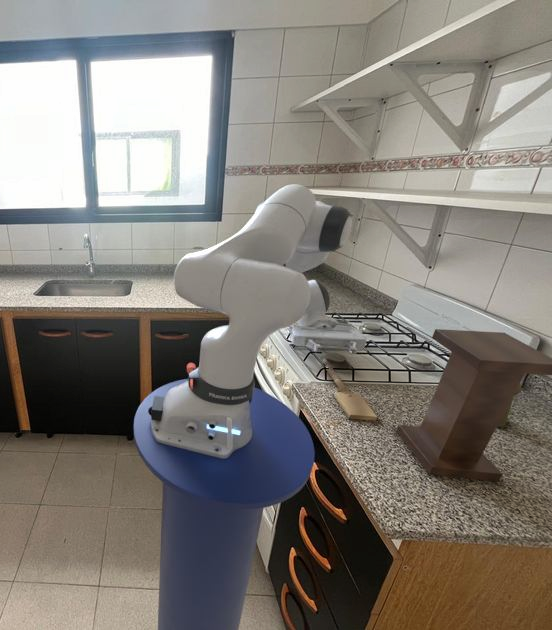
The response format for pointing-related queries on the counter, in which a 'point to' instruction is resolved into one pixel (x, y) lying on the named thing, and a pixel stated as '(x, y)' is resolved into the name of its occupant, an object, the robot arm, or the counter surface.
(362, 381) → the counter surface
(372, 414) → the spatula
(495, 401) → the stand
